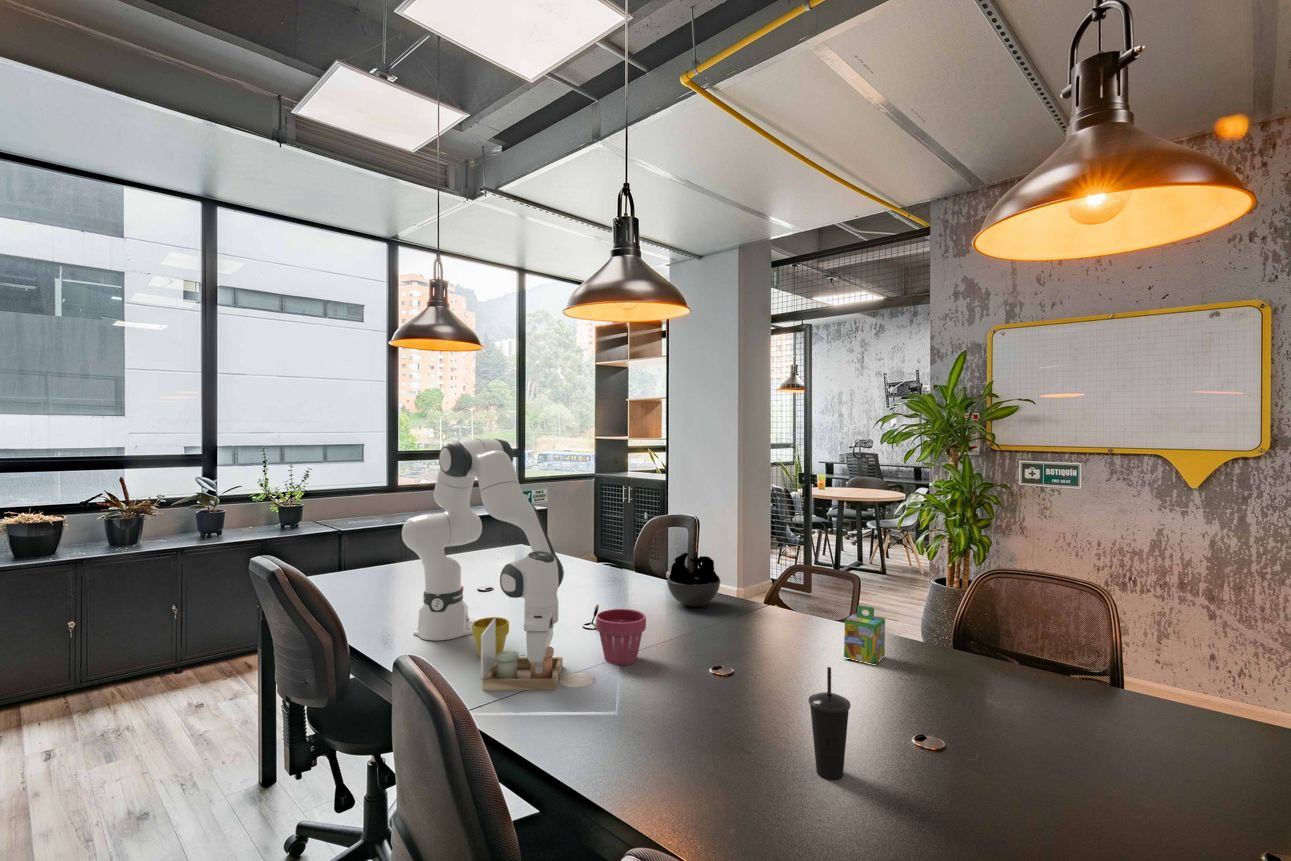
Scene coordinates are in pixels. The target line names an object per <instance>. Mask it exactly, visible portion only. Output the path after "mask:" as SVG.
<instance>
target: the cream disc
mask: <svg viewBox="0 0 1291 861" xmlns="http://www.w3.org/2000/svg"><path fill="white" fill-rule="evenodd" d="M594 682H595V677H594V675H592V674H589V673H586V672H574V673H573V672H572V673H568V674H564V675H563V676H561V677H559V683H560V685H561V686H563V687H567V688H575V689H576V688H584V687H587V686H590V685H592V684H593V683H594Z"/></svg>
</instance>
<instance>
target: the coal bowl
mask: <svg viewBox="0 0 1291 861" xmlns="http://www.w3.org/2000/svg"><path fill="white" fill-rule="evenodd" d="M688 556H689V553H688V552H684V553H682V554H680V555H679V556H677V557H675V558H674V562H673V563H672V565H671V567H670V568H671V569H670V573H669V576H668V577H667V578H666V583H667V586H668V590H669V592H670V593H671V595H672V596H673V598H674V599H675V600H676V601H677V602H679V603H680V604H682V605H685V606H686V607H702V606H704V605H706V604H708V603H709V602H711V601H712V600H713V599H714V598H715V597H716V596H717V594H718V592H719V589H720V586H721V578H720V576H719V575H717V573H716V571H715V561H714V559H713V558H711V557H710V556H706V555H704V556H702V555H701V556H698V557H697V556H695V557H694V558H690V559H689V561H690V562H692V563H693V564H694V565H697V568H696V570H694V571H693V572H690V569H689V568H688V567H687V566H686V559H687V557H688Z"/></svg>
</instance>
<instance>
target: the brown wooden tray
mask: <svg viewBox="0 0 1291 861" xmlns="http://www.w3.org/2000/svg"><path fill="white" fill-rule="evenodd" d="M562 668H563V656H561V657H560V656H556V657H555V656H554V657H553V656H552V678H550V679H531V663H530V662H529V661H528V656H527V657H519V658H518V660H517V678H516V679H497V661H495V663H494V664H493V666H492V668H491V669H490V671H489V672H488V674H487V676H486V677H485V679H483V681H482V691H483V692H484V691H488V692H489V691H492V692H493V691H555V690H556V688H557V684H558V682H559V680H560V675H561V671H562Z"/></svg>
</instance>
